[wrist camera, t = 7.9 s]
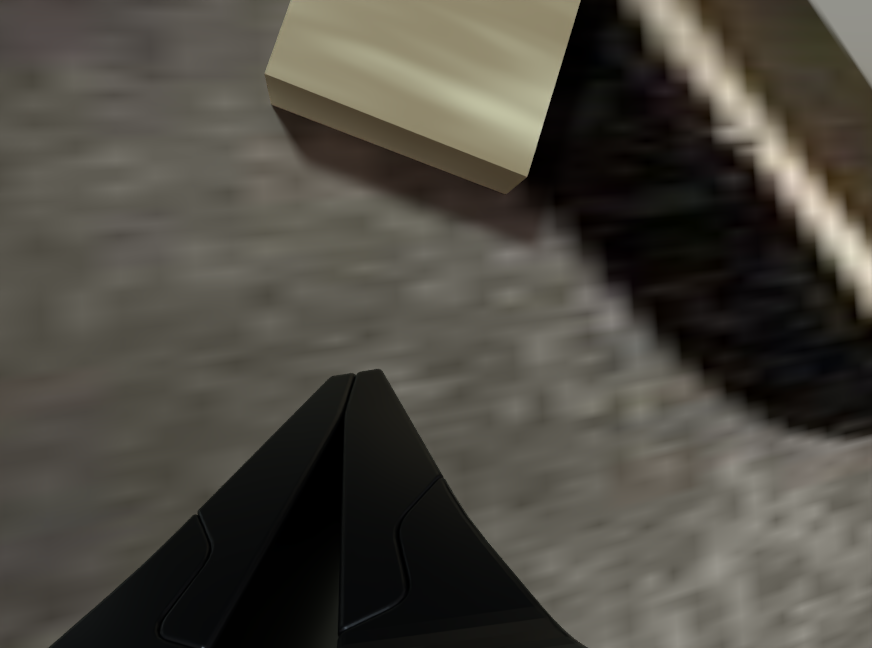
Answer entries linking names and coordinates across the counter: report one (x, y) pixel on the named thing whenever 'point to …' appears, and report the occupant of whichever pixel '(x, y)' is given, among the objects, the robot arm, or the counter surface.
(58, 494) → the counter surface
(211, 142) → the counter surface
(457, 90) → the birch tile
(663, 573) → the counter surface
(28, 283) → the counter surface
